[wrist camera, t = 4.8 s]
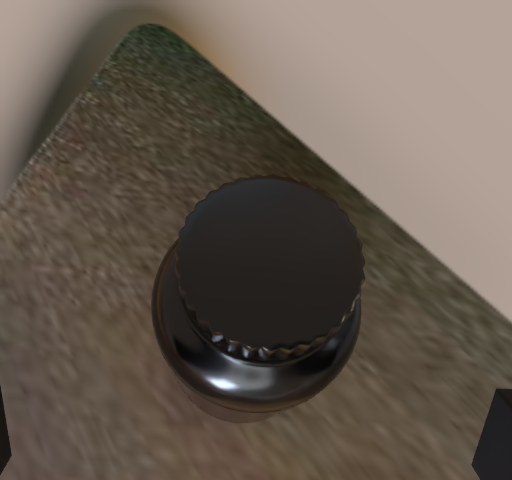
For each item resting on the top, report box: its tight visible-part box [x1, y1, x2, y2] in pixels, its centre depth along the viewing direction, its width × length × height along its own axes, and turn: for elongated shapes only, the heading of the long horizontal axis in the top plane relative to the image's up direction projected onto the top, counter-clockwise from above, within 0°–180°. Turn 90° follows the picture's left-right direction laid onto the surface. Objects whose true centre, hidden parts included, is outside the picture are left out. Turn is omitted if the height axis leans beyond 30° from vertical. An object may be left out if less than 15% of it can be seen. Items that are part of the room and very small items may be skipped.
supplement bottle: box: [151, 174, 365, 423], centre depth 16 cm, size 7×7×12 cm
